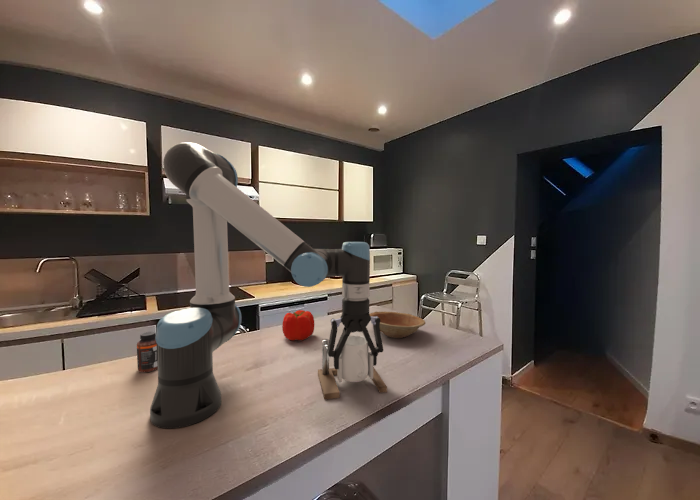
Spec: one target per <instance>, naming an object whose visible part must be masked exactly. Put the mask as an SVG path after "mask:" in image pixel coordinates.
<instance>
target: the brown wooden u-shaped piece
mask: <svg viewBox="0 0 700 500" xmlns="http://www.w3.org/2000/svg"><path fill="white" fill-rule="evenodd" d="M335 376H337V369H335V368H334V367H331V368H330V367H329V374H328V375H323V374H322V368H321V369H317V377H318V380H319V385H320V388H321V389H320V390H321V393H322V396H323V399H324V400H332V399H338V398H339V399H340V390H339V387H338V384H337V382H336V379H335ZM371 381H372V383H373V384H374V386H375V387H376V389H377V391H378V392H379V394H382V393H387V392H388V386H387V385H386V383H385V381H384V380H383V379H382V377H381V375H380V374H379V373H378V371H377V370H376V368H375V367H374V366H373V379H371Z"/></svg>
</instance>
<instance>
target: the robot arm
mask: <svg viewBox="0 0 700 500" xmlns="http://www.w3.org/2000/svg"><path fill="white" fill-rule="evenodd" d="M162 163H163V164H162V165H163V166H162V167H163V171H164V174H165V176H166V178H167V179H168V180H169V182H170V183H171V184H172V185H173V186H175V187H176V188H177V189H178V190H180V191H181V192H182V193H184V194H185V197H186V199H185V201H186V202H187V203H188V204H189V205H190V206H191V207H192V216H193V217H192V218H193V244H194V245H193V246H194V247H193V248H194V249H193V251H194V276H195V277H194V279H195V281H194V282H195V295H194V296H193V297H191V299H190V300H189V307H187V308H182V309H180V310H175V311H172V312H169V313H167V314H166V315H164V316H162V317H161V318H160V319H159V321H158V322H157V325H156V332H155V333H156V338H155V339H156V343H157V366H158V369H157V386H156V389H155V392H154V396H153V399H152V402H151V405H150V409H149V416H150V417H149V418H150V422H151V424H152V425H153V426H155V427H158V428H163V429H177V428H178V429H180V428H185V427H189V426H192V425H195V424H197V423H200V422H201V421H204V420H206V419H208V418H209V417H211V416H213V414H215V413H216V412H217V411H218V410H219V409H220V407H221V404H222V392H221V389H220V387H219V385H218V382H217V379H216V377H215V374H214V368H213V367H214V366H213V365H214V364H213V363H214V361H213V357H214V356H213V354H214V352H215V351H216V350H218V349H219V347H221V346H222V345H223V344H226V342H227V343H228V341H230V340H231V339H232V338H233V337H234V336H235V335H236V333H237V332H238V330H239V329H240V328H241V325H242V312H241V309H240V308H239V306H237V304H236V296H235V295H233V294H232V292H230V278H229V277H230V275H229V274H230V273H229V246H228V245H229V243H228V242H229V240H228V238H229V237H228V236H229V235H228V223H229V224H230V225H231V226H232V227H234V228H235V229H236V230H238V232H240V233H241V234H242V235H244V236H245V237H246V238H247V239H248V240H250V241H251V242H252V243H254V244H255V245H256V246H257V247H259V248H260V249H261V250H262V251H264V252H265V253H266V254H267V255H269V256H270V257H271V258H273V259H274V260H275V261H276V262H278V264H280V265H281V266H283V267H284V268H285V269H286V270H288V271H289V272H290V273H291V276H292V279H293V280H294V281H295V282H296V284H298V285H299V286H302V287H305V288H309V287H310V288H311V287H315V286H317V285H320V283H321V282H323V281H324V280H325V279H326V278H327V277H342V278H341V279H342V283H341V284H342V285H341V286H342V287H341V289H342V290H341V291H342V293H341V294H342V297H343V298H342V300H341V301H342V302H341V315H340V316H339V318H336V319H335V318H334V317H333V318H331V319H330V323H331V324H330V325H331V328H330V334H329V338H328V339H329V344H328V349H327V353H328V355H329V358H333V368H335V369H337V375H336V376H337V377H336V378H337V380H338V381H337V382H339V383H342V382H343V379H342V358H341V356H340V354H341V352H342V350H343V347H344V345H345V343H346V341H347V338H348V336H351V333H355V332H356V333H362V336H363V337H365V339H366V341H367V342H368V349H369V350H370V351H371V352H370V351H368V377H369V378H370V379H371V380H372V379H373V367H374V366H377V365H378V364H377V361H378V358H377V357H378V355H379V353H383V352H384V346H383V345H384V344H383V340H382V334H381V333H382V332H381V331H380V327H379V326H380V318H378V317H377V316H374V317H372V316H370V299H369V297H370V274H371V273H370V272H371V271H370V270H371V253H370V249H371V248H370V244H368V242H365V241H345V242H343V243H342V244H341V245H342V246H341V248H334V249H331V248H313V247H312V246H311V245H310V244H308V243H306V241H304V240H303V239H302V238H301V237H300V236H298V235H297V234H295V232H293V231H292V230H291V229H289V227H287V226H286V225H284V224H283V223H282V222H281V221H279V219H277V218H275V217H274V216H273V215H272V214H271V213H269V212H268V211H266V209H264V208H263V207H262V206H260V204H258V203H257V202H256V201H254V200H253V199H252V198H251V197H249V196H248V195H247V194H245V193H244V192H243V191H242V190H241V189H239V188H238V187H237V186H238V182H239V180H238V179H239V178H238V172H237V169H236V168H235V167H234V165H233V164H232V163H231V161H229V160H228V159H227V158H225V157H224V156H222V155H221V154H219V153H216V152H213V151H212V150H209V149H208V148H206V147H204V146H202V145H200V144H198V143H196V142H180V143H176V144H174V145H173V146H171V147H170V148H169V149H167V151H166V153H165V154H164V158H163V161H162ZM369 323H371V324H372V329H373V335H374V340H375V344H374V342H373V340H372V338H371V336H370V333H369V330H368V328H367V326H368V325H369ZM340 324H342V325H343V329H342V332H341V335H340V337H339V339H338V341H337V343H336V340H337V334H338V328H340ZM335 345H336V346H335Z"/></svg>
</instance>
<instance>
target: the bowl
mask: <svg viewBox="0 0 700 500" xmlns="http://www.w3.org/2000/svg"><path fill="white" fill-rule="evenodd" d="M369 314H370V316H372V317H374V316H377V317H378V318H380V326H379V327H380V333H382V334H383V335H385V336H387V338H391V339H392V338H393V339H403V337H404V338H406V337H408V336H410V335H412V334H414V333H416V332H417V331H418V330H419V328H421V327H423V326H425V325H426V320H424V319H423V318H421V317H419V316H416V315H412V314H410V313H405V312H396V311H374V312H369Z"/></svg>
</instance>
